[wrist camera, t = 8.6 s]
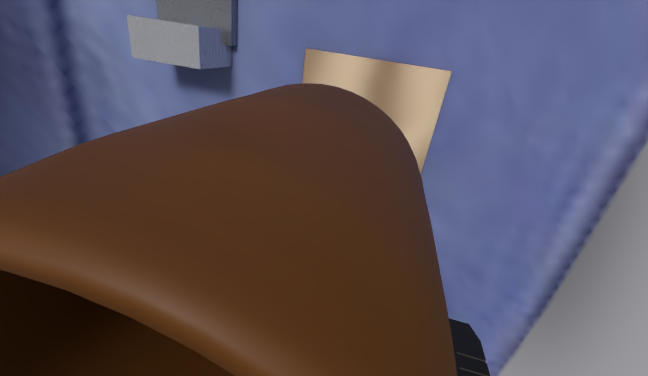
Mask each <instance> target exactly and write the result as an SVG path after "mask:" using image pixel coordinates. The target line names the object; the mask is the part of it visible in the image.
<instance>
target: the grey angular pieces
mask: <svg viewBox="0 0 648 376" xmlns="http://www.w3.org/2000/svg"><path fill="white" fill-rule="evenodd" d="M156 2H157V13H158V19H154V18H147V17H139V16H132V15H127V20H128V28H129V35H130V43H131V51H132V57H134V58H139V59H145V60H150V61H156V62H162V63H167V64H173V65H179V66H184V67H190V68H195V69H209V68H220V67H231V66H232V46H237V0H156Z"/></svg>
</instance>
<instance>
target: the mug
mask: <svg viewBox="0 0 648 376" xmlns="http://www.w3.org/2000/svg"><path fill="white" fill-rule="evenodd" d="M0 376H457V370H456V361H455V354H454V348H453V341H452V334H451V328H450V323H449V317H448V312H447V307H446V301H445V296H444V291H443V285H442V280H441V275H440V269H439V264H438V258H437V253H436V248H435V242H434V237H433V232H432V226H431V221H430V217H429V212H428V208H427V204H426V199H425V194H424V189H423V183H422V178H421V174H420V171H419V167H418V164H417V160H416V158H415V155H414V153H413V151H412V149H411V146H410V144H409V142H408V141H407V139H406V138H405V136H404V134H403V133H402V131H401V130H400V128H399V127H398V126H397V125H396V124H395V123H394V121H393V120H392V119H391V118H390V117H389V116H388V115H387V114H386V113H384V112H383V111H382V110H381V109H380V108H379V107H377V106H376V105H374V104H373V103H371V102H370V101H368V100H367V99H365V98H363V97H361V96H359V95H357V94H355V93H353V92H351V91H348V90H345V89H342V88H339V87H336V86H331V85H325V84H314V83H302V84H292V85H285V86H281V87H277V88H273V89H269V90H265V91H262V92H258V93H255V94H252V95H248V96H244V97H240V98H236V99H232V100H228V101H224V102H220V103H217V104H213V105H210V106H206V107H203V108H200V109H196V110H193V111H189V112H186V113H182V114H179V115H175V116H172V117H169V118H165V119H162V120H158V121H155V122H151V123H148V124H144V125H141V126H138V127H134V128H131V129H127V130H124V131H120V132H117V133H113V134H110V135H107V136H104V137H101V138H98V139H95V140H92V141H89V142H86V143H83V144H80V145H77V146H74V147H72V148H69V149H67V150H64V151H62V152H59V153H57V154H55V155H52V156H50V157H47V158H45V159H42V160H40V161H38V162H35V163H33V164H30V165H28V166H26V167H23V168H21V169H18V170H16V171H14V172H11V173H9V174H6V175H4V176H2V177H0Z"/></svg>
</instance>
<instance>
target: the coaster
mask: <svg viewBox="0 0 648 376" xmlns="http://www.w3.org/2000/svg"><path fill="white" fill-rule="evenodd" d="M451 72H452V71H447V70H440V69H434V68H428V67H421V66H415V65H409V64H402V63H396V62H390V61H383V60H377V59H371V58H364V57H358V56H352V55H346V54H339V53H333V52H327V51H320V50H314V49H308V48H306V53H305V63H304V73H303V82H302V83H314V84H325V85H331V86H336V87H339V88H342V89H345V90H348V91H351V92H353V93H355V94H357V95H359V96H361V97H363V98H365V99H367V100H368V101H370V102H371V103H373V104H374V105H376V106H377V107H379V108H380V109H381V110H382V111H383V112H384V113H386V114H387V115H388V116H389V117H390V118H391V119H392V120H393V121H394V123H395V124H396V125H397V126H398V127H399V128H400V130H401V131H402V133H403V134H404V136H405V138H406V139H407V141H408V142H409V144H410V146H411V149H412V151H413V153H414V155H415V158H416V160H417V164H418V167H419V171H420V174H421V171H422V168H423V165H424V161H425V158H426V155H427V151H428V148H429V145H430V142H431V138H432V135H433V132H434V128H435V125H436V122H437V118H438V115H439V112H440V109H441V105H442V102H443V99H444V95H445V92H446V89H447V85H448V82H449V79H450V76H451Z"/></svg>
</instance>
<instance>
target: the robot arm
mask: <svg viewBox="0 0 648 376" xmlns="http://www.w3.org/2000/svg"><path fill="white" fill-rule="evenodd" d="M449 323H450V328H451V334H452V341H453V348H454V354H455V361H456V370H457V376H490V373H489V370H488V366H487V364H486V363H485V360H486V359H485V356H484V352H483V348H482V345H481V341H480V340H479V338H478V337H477V335H476V334H475V333H474V331H473V330H472V328H471V327H470V325H469V324H467V323H463V322H460V321H456V320H452V319H449Z"/></svg>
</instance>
